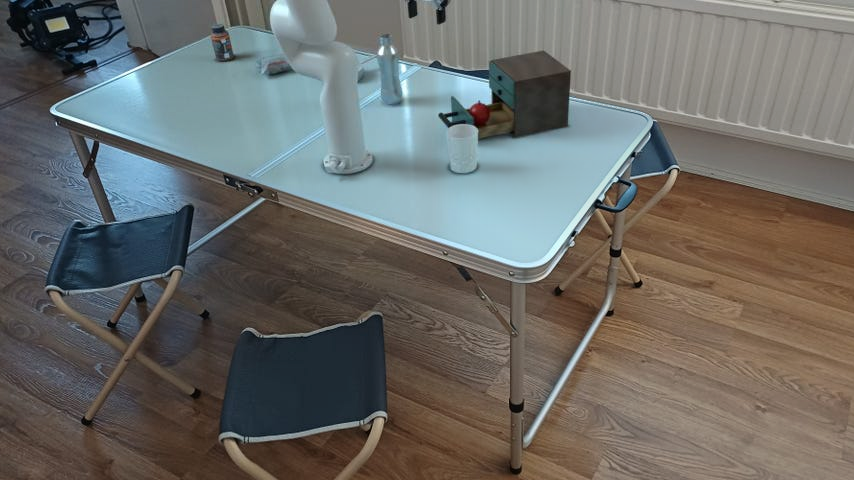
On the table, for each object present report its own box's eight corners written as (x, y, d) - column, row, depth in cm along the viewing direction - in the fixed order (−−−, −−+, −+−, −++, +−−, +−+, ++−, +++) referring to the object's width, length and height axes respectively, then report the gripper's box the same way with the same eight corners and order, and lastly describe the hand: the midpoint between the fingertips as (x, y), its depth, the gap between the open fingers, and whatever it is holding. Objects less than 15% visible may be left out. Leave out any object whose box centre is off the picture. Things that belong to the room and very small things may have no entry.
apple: (487, 129, 196) (487, 105, 192) (466, 127, 197) (466, 104, 193) (492, 119, 200) (491, 96, 196) (471, 118, 202) (471, 95, 197)
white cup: (461, 156, 189) (460, 121, 183) (485, 165, 185) (484, 129, 179) (441, 168, 184) (439, 132, 178) (465, 178, 180) (464, 141, 174)
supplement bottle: (233, 61, 247) (225, 28, 240) (215, 62, 246) (207, 29, 239) (235, 54, 251) (227, 21, 244) (217, 56, 251) (209, 23, 244)
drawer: (453, 149, 191) (452, 122, 187) (434, 125, 203) (432, 99, 198) (524, 133, 197) (525, 107, 192) (502, 111, 208) (502, 86, 204)
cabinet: (509, 138, 196) (510, 82, 186) (486, 115, 207) (485, 61, 198) (567, 126, 200) (571, 70, 191) (541, 103, 212) (543, 50, 202)
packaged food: (298, 71, 237) (295, 57, 234) (262, 80, 233) (259, 65, 230) (289, 63, 243) (286, 49, 240) (255, 71, 239) (251, 56, 236)
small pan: (324, 78, 232) (322, 67, 230) (367, 62, 242) (365, 50, 240) (345, 87, 226) (343, 76, 224) (388, 70, 236) (387, 58, 234)
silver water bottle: (404, 97, 219) (399, 31, 207) (401, 107, 214) (395, 40, 201) (383, 97, 219) (376, 31, 207) (379, 106, 214) (372, 40, 202)
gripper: (387, -48, 189) (393, 18, 199) (440, -39, 180) (444, 29, 191) (406, -54, 193) (411, 10, 204) (458, -46, 185) (460, 21, 196)
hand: (427, 19), depth 197 cm, fingers open, 9 cm apart
